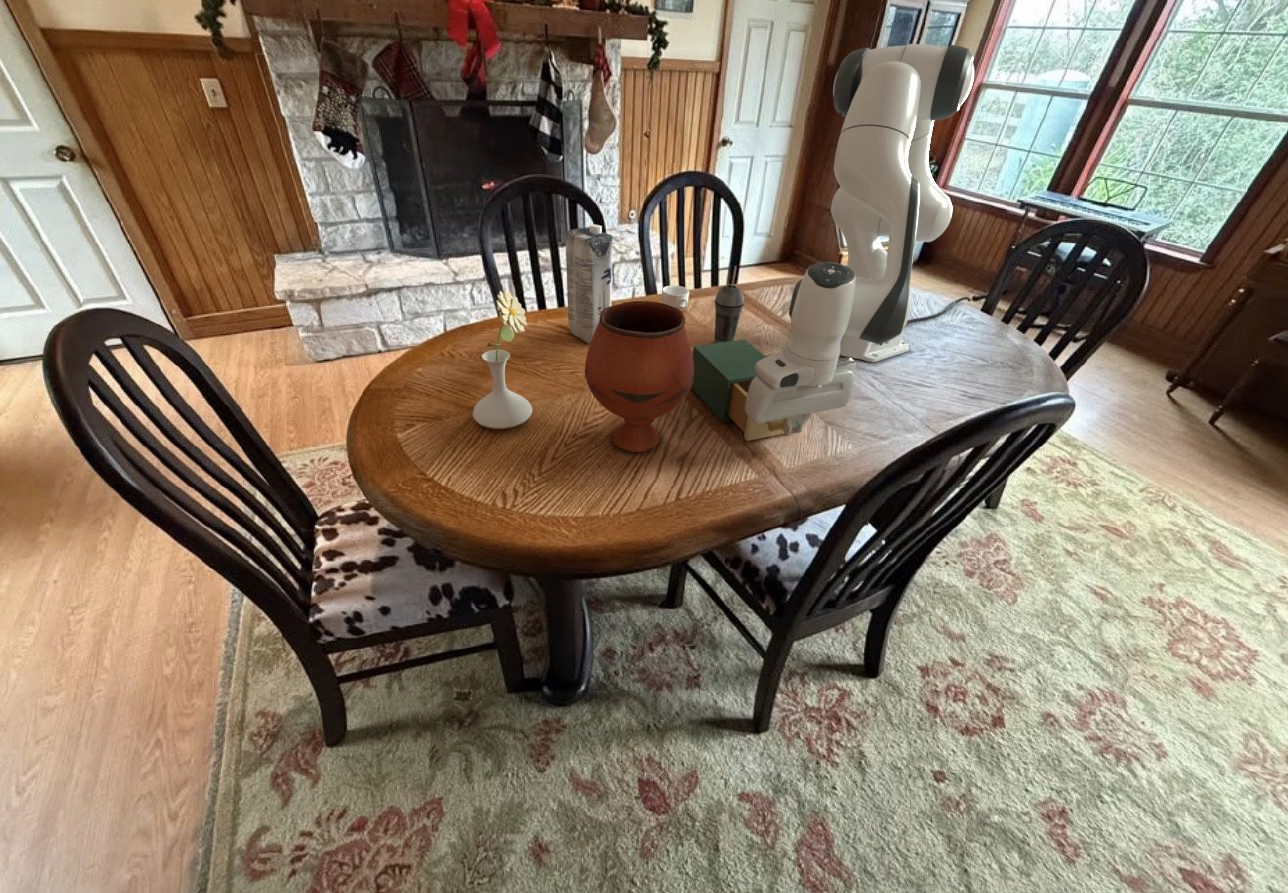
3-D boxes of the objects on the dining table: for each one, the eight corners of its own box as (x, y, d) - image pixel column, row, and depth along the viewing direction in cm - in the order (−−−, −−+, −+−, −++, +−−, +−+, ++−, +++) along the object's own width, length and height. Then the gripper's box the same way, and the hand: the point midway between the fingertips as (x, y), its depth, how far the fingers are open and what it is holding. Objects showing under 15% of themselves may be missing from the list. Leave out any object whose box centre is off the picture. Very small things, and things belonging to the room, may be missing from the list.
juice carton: (587, 347, 136) (585, 234, 120) (564, 332, 142) (559, 223, 126) (615, 338, 141) (617, 229, 125) (592, 324, 147) (591, 218, 131)
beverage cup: (705, 348, 139) (715, 269, 127) (713, 337, 144) (723, 260, 132) (733, 354, 136) (745, 274, 125) (740, 342, 142) (753, 265, 130)
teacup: (655, 305, 160) (657, 287, 157) (677, 301, 163) (679, 283, 160) (674, 318, 153) (676, 299, 150) (697, 313, 156) (699, 295, 153)
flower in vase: (504, 441, 102) (488, 314, 87) (461, 421, 107) (439, 297, 92) (550, 411, 111) (542, 291, 97) (508, 394, 116) (495, 277, 101)
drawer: (809, 442, 105) (818, 407, 100) (757, 453, 101) (765, 417, 97) (758, 394, 119) (765, 362, 114) (712, 403, 115) (716, 370, 111)
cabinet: (775, 411, 115) (784, 371, 109) (722, 421, 111) (728, 380, 105) (738, 377, 127) (744, 339, 121) (689, 385, 123) (693, 346, 117)
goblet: (682, 413, 113) (694, 295, 98) (690, 470, 98) (706, 341, 83) (589, 410, 112) (587, 291, 98) (582, 468, 97) (579, 337, 82)
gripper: (846, 348, 98) (827, 413, 106) (747, 364, 91) (735, 432, 99) (870, 364, 93) (848, 431, 101) (767, 382, 86) (753, 452, 95)
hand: (791, 432), depth 100 cm, fingers closed
